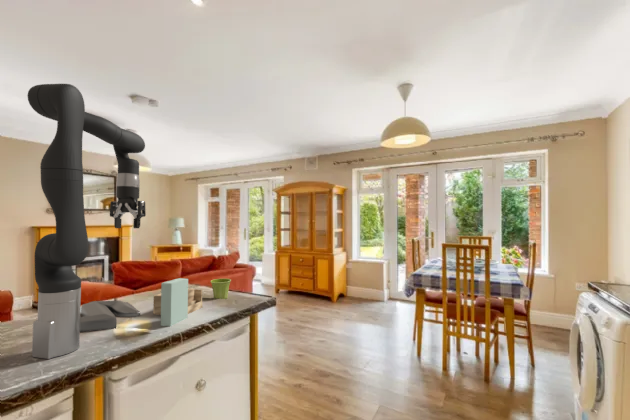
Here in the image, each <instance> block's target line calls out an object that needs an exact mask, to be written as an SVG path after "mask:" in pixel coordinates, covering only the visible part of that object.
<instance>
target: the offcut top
mask: <svg viewBox="0 0 630 420" xmlns="http://www.w3.org/2000/svg"><path fill="white" fill-rule="evenodd" d="M194 289H195V288H189V287H188V297H190V296H193V295H194Z"/></svg>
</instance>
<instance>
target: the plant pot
mask: <svg viewBox="0 0 630 420" xmlns="http://www.w3.org/2000/svg"><path fill="white" fill-rule="evenodd" d="M231 282H232V279H230V278H216V279H212V280H210V284H211V287H212V292H213V294H212V295H213V299H215V300H217V299H218V300H227V299H228V295H229V291H230V290H229V288H230V284H231Z"/></svg>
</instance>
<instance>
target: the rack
mask: <svg viewBox="0 0 630 420" xmlns="http://www.w3.org/2000/svg"><path fill="white" fill-rule="evenodd" d="M193 289H194V300H196V304H193V305H191V306H189V307H188V315H189V314H191V313H193V312H196V311H198V310H200V309H202V308H203V289H195V288H193ZM152 308H153V309H152V310H153V311H152V312H153V313H152V314H153V315H158V316H161V293H159V294H158V293H157V294H155V295H153V307H152Z"/></svg>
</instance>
